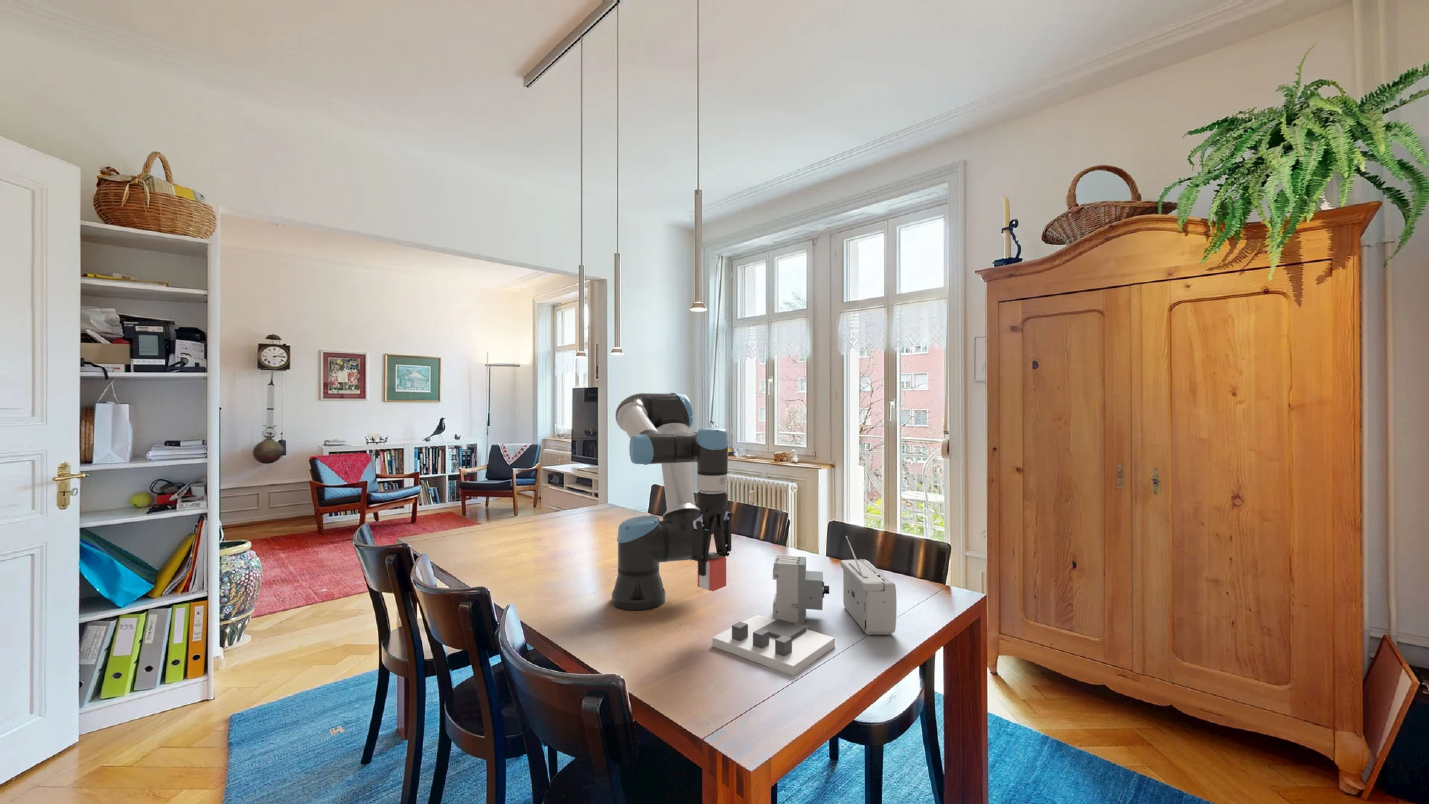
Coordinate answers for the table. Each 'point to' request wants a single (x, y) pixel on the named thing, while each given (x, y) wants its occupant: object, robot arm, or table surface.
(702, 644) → the table surface
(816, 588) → the circuit breaker
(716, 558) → the cap
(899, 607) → the table surface
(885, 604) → the stereo radio cassette player
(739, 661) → the table surface
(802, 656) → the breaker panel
